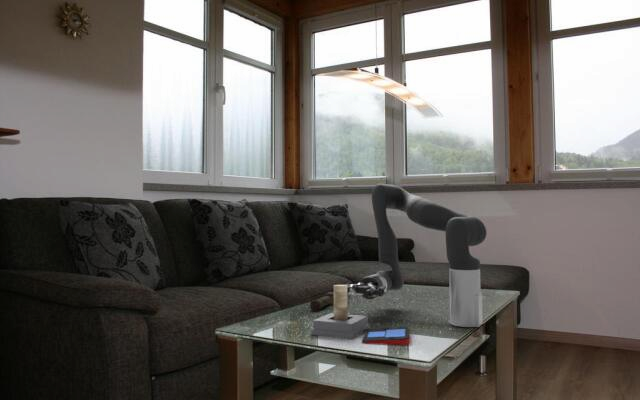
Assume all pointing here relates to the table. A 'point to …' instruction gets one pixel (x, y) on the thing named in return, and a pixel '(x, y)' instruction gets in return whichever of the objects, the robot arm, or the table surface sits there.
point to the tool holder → (340, 326)
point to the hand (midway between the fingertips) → (354, 293)
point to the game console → (387, 336)
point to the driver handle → (340, 303)
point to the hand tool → (322, 301)
